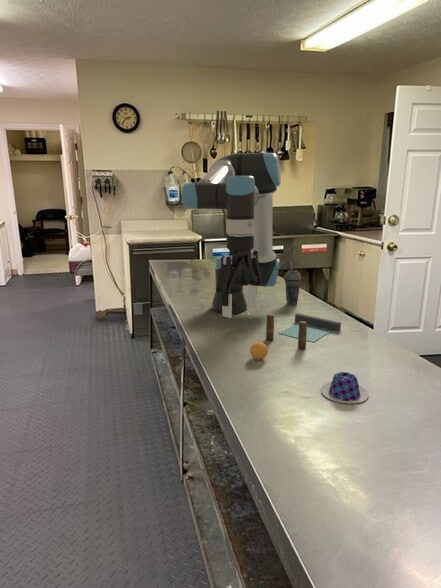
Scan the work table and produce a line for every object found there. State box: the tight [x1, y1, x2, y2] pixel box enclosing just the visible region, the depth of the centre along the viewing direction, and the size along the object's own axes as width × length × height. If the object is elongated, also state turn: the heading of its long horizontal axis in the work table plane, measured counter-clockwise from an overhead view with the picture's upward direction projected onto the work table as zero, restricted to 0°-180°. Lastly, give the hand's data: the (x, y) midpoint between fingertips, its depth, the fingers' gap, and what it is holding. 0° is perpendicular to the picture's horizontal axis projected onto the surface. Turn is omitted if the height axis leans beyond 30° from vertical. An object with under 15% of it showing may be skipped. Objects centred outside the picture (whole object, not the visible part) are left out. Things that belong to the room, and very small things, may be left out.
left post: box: [265, 313, 275, 342], centre depth 150 cm, size 3×3×9 cm
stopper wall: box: [294, 313, 342, 333], centre depth 164 cm, size 18×2×3 cm, turn 51°
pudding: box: [320, 371, 369, 404], centre depth 113 cm, size 12×12×5 cm
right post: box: [297, 321, 307, 351], centre depth 142 cm, size 3×3×9 cm
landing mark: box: [278, 322, 332, 343], centre depth 157 cm, size 14×14×1 cm
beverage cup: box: [284, 259, 302, 307], centre depth 189 cm, size 7×7×20 cm
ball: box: [249, 341, 269, 361], centre depth 134 cm, size 6×6×6 cm
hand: (239, 311), depth 123 cm, fingers open, 11 cm apart
